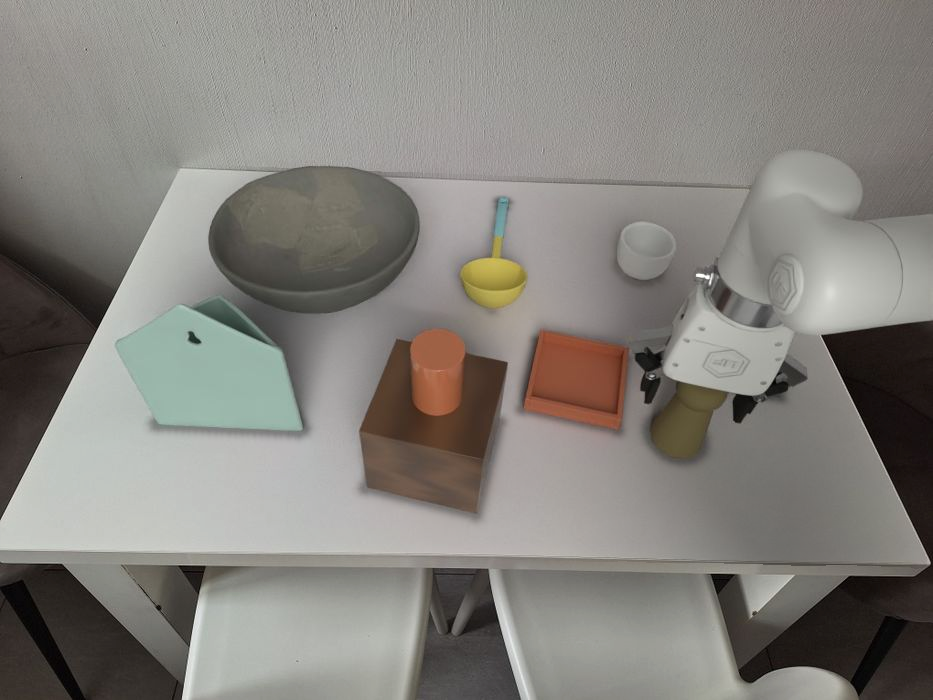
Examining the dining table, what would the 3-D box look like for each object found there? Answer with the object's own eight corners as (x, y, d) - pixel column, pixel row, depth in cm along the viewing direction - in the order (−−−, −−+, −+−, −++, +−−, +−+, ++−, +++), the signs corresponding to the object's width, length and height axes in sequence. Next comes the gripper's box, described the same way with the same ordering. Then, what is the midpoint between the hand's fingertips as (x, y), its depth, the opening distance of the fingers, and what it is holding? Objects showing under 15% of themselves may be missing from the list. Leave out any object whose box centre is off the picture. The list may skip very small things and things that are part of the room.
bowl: (204, 348, 81) (181, 291, 73) (247, 213, 98) (231, 155, 90) (417, 352, 82) (415, 296, 74) (422, 218, 99) (422, 161, 91)
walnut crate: (499, 421, 76) (508, 361, 67) (476, 513, 68) (483, 460, 60) (400, 399, 77) (396, 338, 69) (366, 487, 70) (358, 431, 61)
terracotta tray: (625, 358, 83) (629, 347, 81) (617, 430, 76) (622, 419, 74) (538, 340, 84) (540, 329, 83) (523, 409, 77) (525, 398, 75)
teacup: (670, 289, 91) (681, 260, 87) (616, 286, 91) (625, 257, 87) (657, 242, 98) (667, 213, 94) (606, 239, 98) (614, 210, 93)
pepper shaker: (709, 429, 76) (744, 371, 68) (692, 467, 73) (726, 411, 65) (661, 406, 78) (689, 346, 70) (642, 441, 75) (669, 384, 66)
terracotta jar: (467, 380, 66) (471, 334, 60) (455, 420, 62) (458, 376, 57) (419, 370, 66) (418, 323, 61) (405, 409, 63) (403, 364, 58)
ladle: (455, 318, 85) (456, 279, 81) (475, 227, 106) (476, 193, 102) (523, 324, 84) (527, 285, 81) (529, 231, 105) (532, 197, 102)
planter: (315, 376, 79) (288, 252, 64) (303, 431, 74) (270, 311, 59) (178, 369, 78) (119, 243, 63) (157, 425, 73) (86, 302, 58)
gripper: (651, 299, 56) (608, 413, 69) (862, 341, 54) (776, 450, 67) (655, 243, 60) (614, 360, 74) (849, 279, 58) (771, 392, 72)
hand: (691, 402), depth 70 cm, fingers open, 9 cm apart
